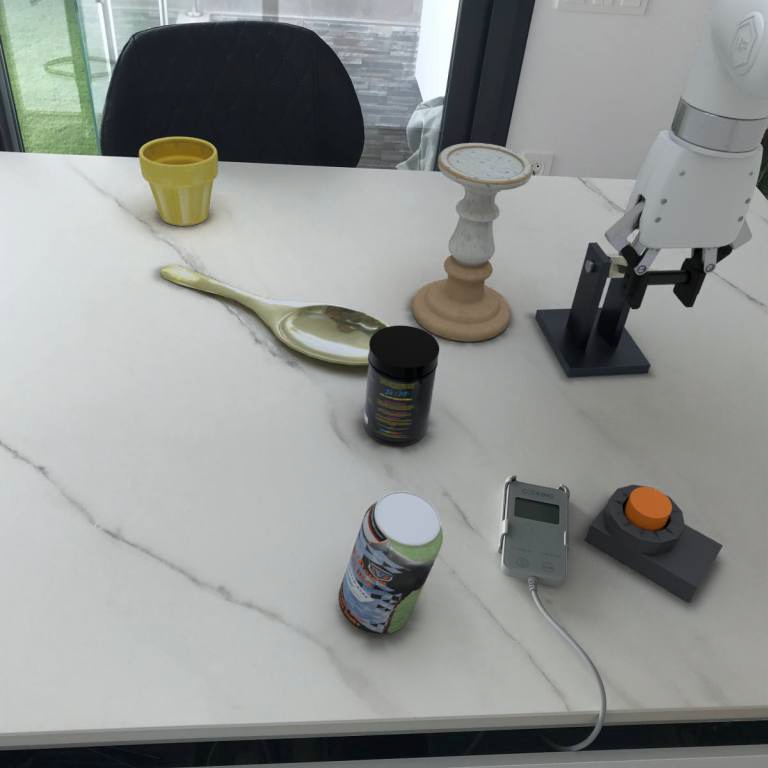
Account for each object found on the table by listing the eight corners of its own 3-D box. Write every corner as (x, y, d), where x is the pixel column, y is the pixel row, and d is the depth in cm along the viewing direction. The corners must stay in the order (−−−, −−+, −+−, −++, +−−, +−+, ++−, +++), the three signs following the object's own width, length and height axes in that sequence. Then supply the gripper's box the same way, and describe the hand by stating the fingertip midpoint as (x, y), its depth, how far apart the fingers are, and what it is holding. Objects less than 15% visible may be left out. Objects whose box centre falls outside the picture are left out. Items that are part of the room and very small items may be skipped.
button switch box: (715, 559, 70) (731, 530, 67) (688, 605, 66) (703, 576, 63) (614, 502, 74) (626, 473, 72) (583, 541, 70) (593, 512, 68)
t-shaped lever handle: (690, 289, 77) (692, 265, 76) (643, 291, 76) (645, 266, 75) (626, 274, 89) (628, 253, 89) (586, 275, 88) (587, 254, 88)
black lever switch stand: (647, 373, 91) (682, 279, 82) (567, 377, 89) (595, 281, 81) (608, 314, 100) (636, 225, 92) (534, 317, 98) (556, 226, 90)
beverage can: (336, 579, 65) (342, 480, 57) (422, 576, 66) (439, 479, 58) (339, 646, 60) (346, 548, 53) (432, 642, 61) (453, 545, 53)
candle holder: (505, 351, 92) (539, 193, 79) (403, 332, 93) (421, 175, 80) (512, 296, 101) (544, 148, 88) (420, 280, 103) (438, 132, 90)
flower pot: (178, 192, 117) (172, 129, 111) (235, 211, 114) (232, 146, 107) (131, 219, 109) (122, 153, 103) (191, 240, 106) (184, 172, 100)
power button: (672, 514, 69) (678, 501, 68) (655, 538, 66) (662, 524, 65) (635, 493, 70) (640, 480, 69) (617, 516, 68) (623, 502, 67)
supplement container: (434, 446, 78) (447, 365, 72) (369, 452, 77) (376, 370, 70) (419, 402, 83) (429, 323, 77) (357, 407, 82) (363, 327, 75)
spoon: (135, 298, 97) (132, 284, 96) (193, 264, 105) (191, 250, 103) (373, 390, 83) (373, 374, 82) (420, 343, 91) (421, 328, 89)
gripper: (782, 110, 71) (714, 279, 83) (609, 107, 68) (564, 283, 80) (831, 143, 66) (750, 319, 77) (645, 142, 63) (590, 325, 74)
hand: (656, 299), depth 78 cm, fingers closed on t-shaped lever handle, 5 cm apart
